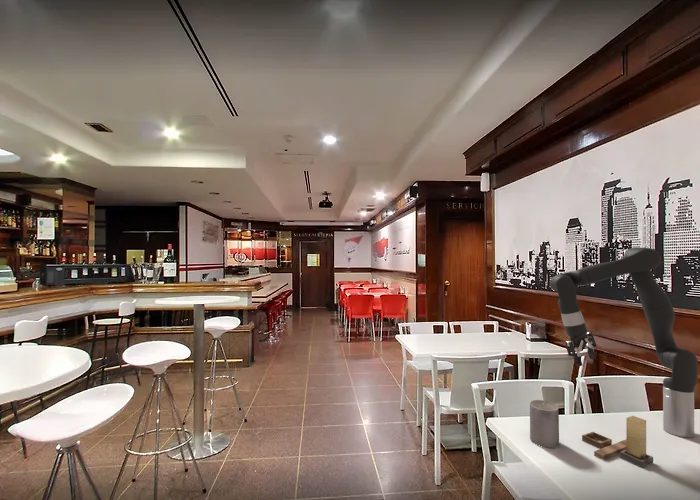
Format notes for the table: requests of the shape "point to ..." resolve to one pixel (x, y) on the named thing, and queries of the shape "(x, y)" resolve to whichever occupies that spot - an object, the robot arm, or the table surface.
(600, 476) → the table surface
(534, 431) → the pillar candle
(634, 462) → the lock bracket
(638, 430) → the tan wooden block
